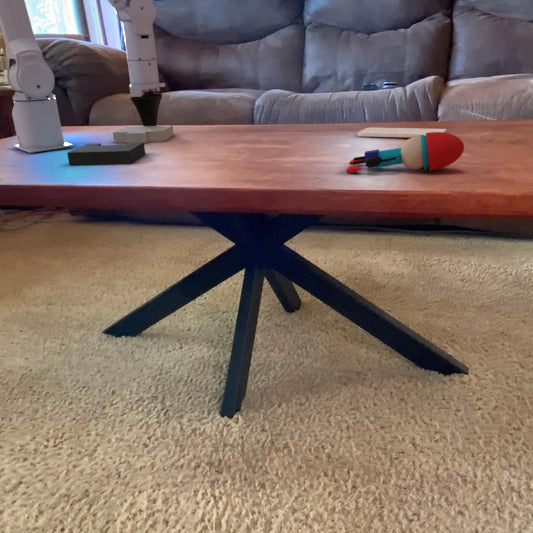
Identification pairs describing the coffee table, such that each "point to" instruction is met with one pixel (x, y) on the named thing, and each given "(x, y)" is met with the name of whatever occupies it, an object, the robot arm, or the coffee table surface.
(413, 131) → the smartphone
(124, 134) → the grey pad
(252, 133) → the coffee table surface
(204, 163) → the coffee table surface
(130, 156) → the black pad
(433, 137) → the toy figure
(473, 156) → the coffee table surface
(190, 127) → the coffee table surface
